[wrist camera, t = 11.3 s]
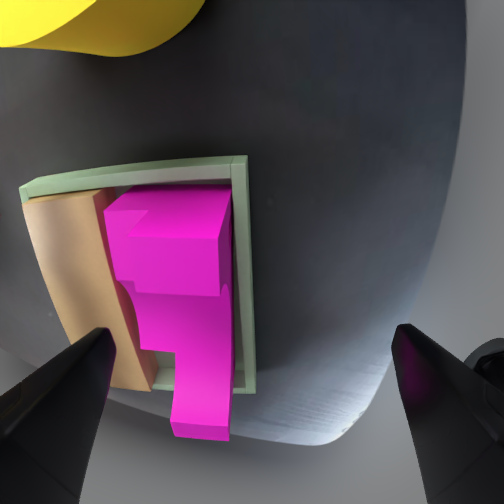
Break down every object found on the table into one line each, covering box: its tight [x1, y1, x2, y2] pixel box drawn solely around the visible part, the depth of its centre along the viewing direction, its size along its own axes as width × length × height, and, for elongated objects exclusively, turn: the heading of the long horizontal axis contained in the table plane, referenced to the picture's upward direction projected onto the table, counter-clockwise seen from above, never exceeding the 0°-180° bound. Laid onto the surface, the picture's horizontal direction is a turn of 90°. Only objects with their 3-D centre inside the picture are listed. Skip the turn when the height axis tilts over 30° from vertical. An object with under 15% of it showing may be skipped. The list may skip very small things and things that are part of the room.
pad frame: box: [19, 155, 256, 394], centre depth 22 cm, size 15×18×2 cm
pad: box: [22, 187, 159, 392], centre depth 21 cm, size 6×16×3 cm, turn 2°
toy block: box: [103, 184, 235, 441], centre depth 19 cm, size 15×6×8 cm, turn 179°
